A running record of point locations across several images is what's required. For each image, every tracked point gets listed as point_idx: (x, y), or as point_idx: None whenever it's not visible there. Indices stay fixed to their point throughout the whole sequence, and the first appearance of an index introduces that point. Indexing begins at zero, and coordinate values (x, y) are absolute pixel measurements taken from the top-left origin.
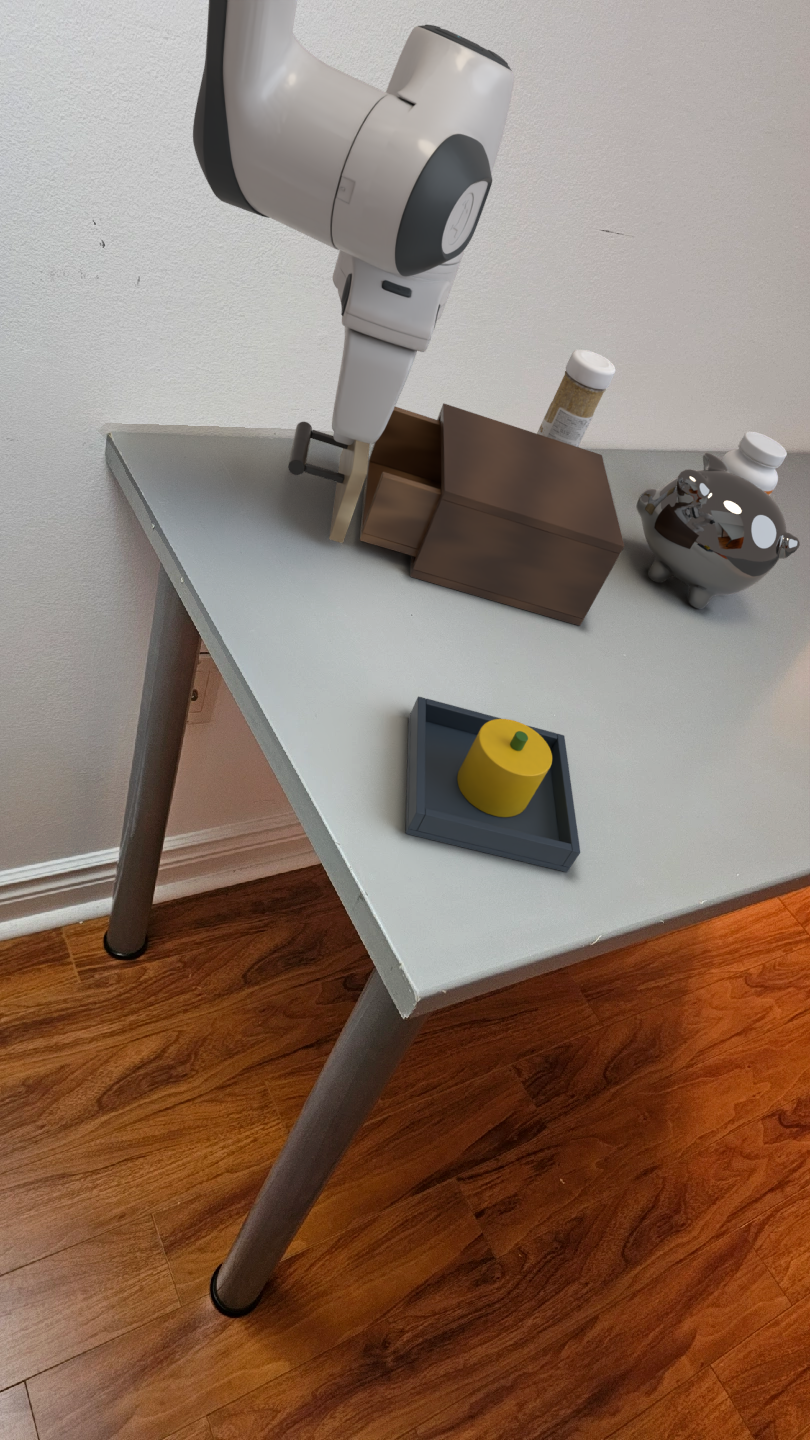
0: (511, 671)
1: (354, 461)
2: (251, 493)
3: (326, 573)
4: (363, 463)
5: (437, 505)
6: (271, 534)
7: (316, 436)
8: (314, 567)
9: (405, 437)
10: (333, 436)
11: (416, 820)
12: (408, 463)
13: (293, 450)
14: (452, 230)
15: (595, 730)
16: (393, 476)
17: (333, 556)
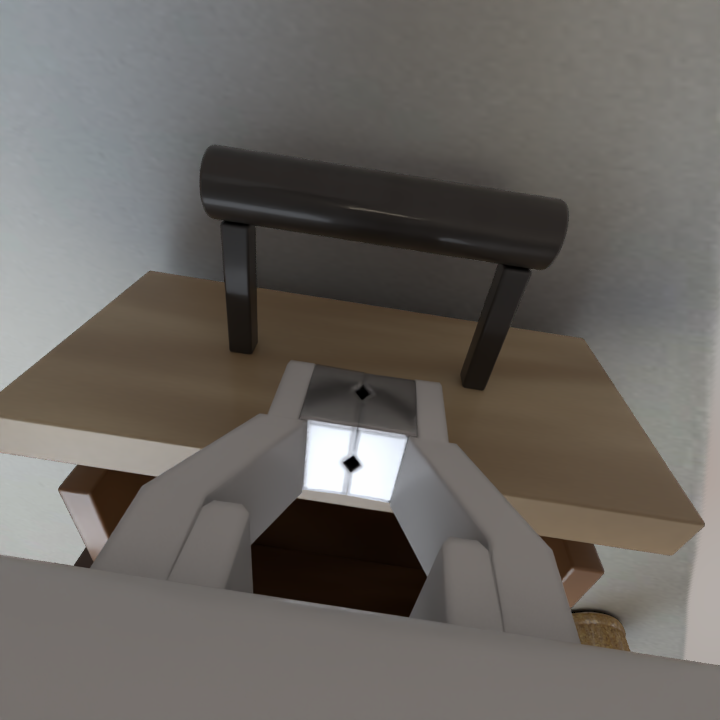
0: (40, 497)
1: (38, 425)
2: (323, 23)
3: (66, 252)
4: (60, 451)
5: (89, 564)
6: (130, 102)
7: (495, 283)
8: (67, 224)
9: None
10: (290, 362)
11: None
12: None
13: (300, 172)
14: None
15: (6, 547)
16: (84, 515)
17: (144, 274)
